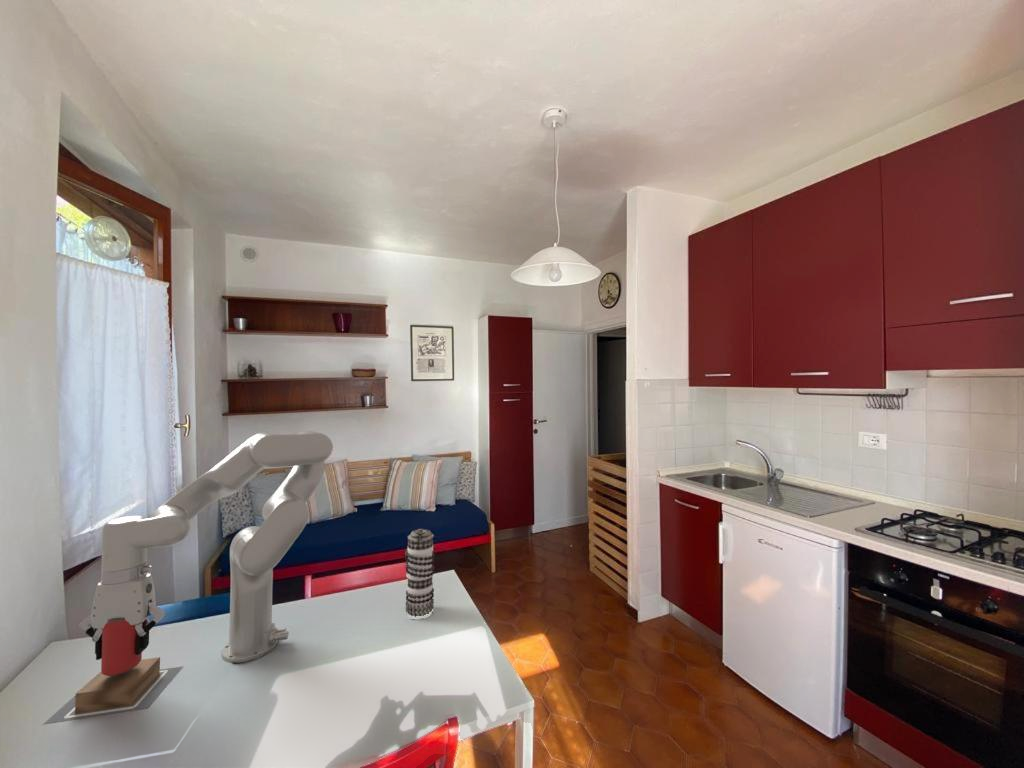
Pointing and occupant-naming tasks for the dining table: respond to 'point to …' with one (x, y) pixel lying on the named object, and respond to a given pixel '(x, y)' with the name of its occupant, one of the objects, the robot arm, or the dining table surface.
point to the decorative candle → (420, 572)
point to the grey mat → (141, 703)
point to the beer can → (118, 647)
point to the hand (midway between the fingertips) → (122, 652)
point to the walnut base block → (117, 687)
